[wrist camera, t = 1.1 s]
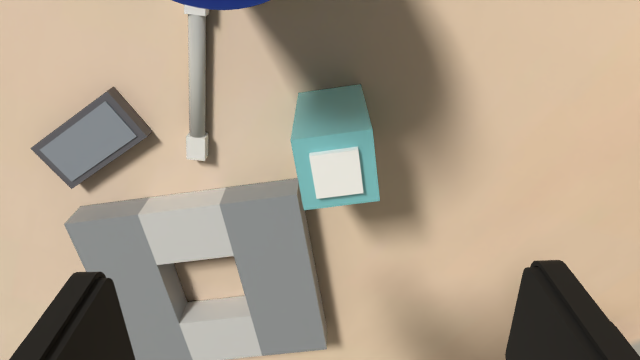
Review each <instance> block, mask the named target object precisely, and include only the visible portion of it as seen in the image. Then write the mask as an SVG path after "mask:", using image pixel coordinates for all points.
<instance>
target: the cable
mask: <svg viewBox="0 0 640 360" xmlns="http://www.w3.org/2000/svg"><path fill="white" fill-rule="evenodd" d="M184 14H188V50H189V130H190V132H189V134H188V135H187V136H186V152H187V159H190V160H200V161H205V160H206V158H207V156H208V133H205V86H206V16H207V15H208V14H209V9H203V8H196V7H192V6H188V5H184Z"/></svg>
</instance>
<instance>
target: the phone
mask: <svg viewBox="0 0 640 360" xmlns="http://www.w3.org/2000/svg"><path fill="white" fill-rule="evenodd" d="M151 132H152V130H151V129H150V128H149V127H148V126H147V124H146V123H145V122H144V121H143V120H142V119H141V118H140V116H139V115H138V114H137V113H136V112H135V111H134V110H133V108H132V107H131V106H130V105H129V104H128V103H127V102H126V100H125V99H124V98H123V97H122V96H121V95H120V94H119V92H118V91H117V90H116V89H115V88H114V87H112V88H111V89H109V90H108V91H107V92H105V93H104V94H103V95H101V96H100V97H99V98H97V99H96V100H95V101H93V102H92V103H91V104H89V105H88V106H87V107H85V108H84V109H83V110H81V111H80V112H78V113H77V114H76V115H74V116H73V117H72V118H70V119H69V120H68V121H66V122H65V123H64V124H62V125H61V126H60V127H58V128H57V129H56V130H54V131H53V132H52V133H50V134H49V135H48V136H46V137H45V138H44V139H42V140H41V141H40V142H38V143H37V144H36V145H34V146H33V147H32V148H31V149H32V150H33V151H34V152H35V153H36V154H37V155H38V156H39V157H40V158H41V159H42V160H43V161H44V162H45V163H46V164H47V165H48V166H49V167H50V168H51V169H52V170H53V171H54V172H55V173H56V174H57V175H58V176H59V177H60V178H61V179H62V180H63V181H64V182H65V183H66V184H67V185H68V186H69V187H70V188H71V189H72V188H74V187H75V186H77V185H78V184H79V183H81V182H82V181H84V180H85V179H87V178H88V177H90V176H91V175H92V174H94V173H95V172H97V171H98V170H100V169H101V168H103V167H104V166H106V165H107V164H108V163H110V162H111V161H113V160H114V159H116V158H117V157H119V156H120V155H121V154H123V153H124V152H126V151H127V150H129V149H130V148H132V147H133V146H134V145H136V144H137V143H139V142H140V141H142V140H143V139H145V138H146V137H147V136H148V135H149V134H150V133H151Z"/></svg>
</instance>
